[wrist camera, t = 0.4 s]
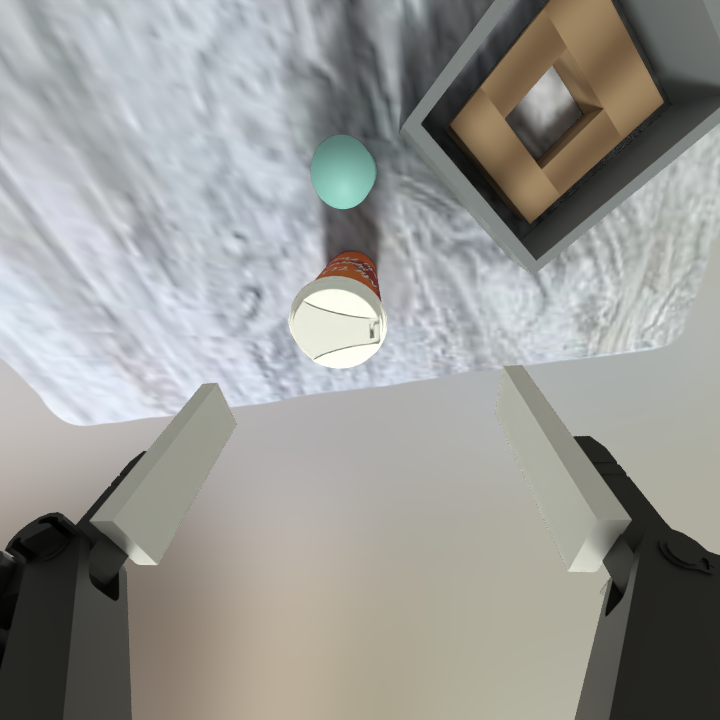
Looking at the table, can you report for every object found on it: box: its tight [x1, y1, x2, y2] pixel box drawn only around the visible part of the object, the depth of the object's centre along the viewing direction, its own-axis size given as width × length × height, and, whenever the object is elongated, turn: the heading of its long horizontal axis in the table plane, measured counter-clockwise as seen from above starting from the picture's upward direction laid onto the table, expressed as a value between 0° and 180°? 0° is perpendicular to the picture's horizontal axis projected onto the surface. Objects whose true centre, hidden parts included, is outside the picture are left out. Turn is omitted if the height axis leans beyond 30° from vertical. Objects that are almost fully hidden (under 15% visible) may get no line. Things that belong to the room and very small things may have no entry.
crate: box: [399, 0, 720, 275], centre depth 25 cm, size 18×18×6 cm
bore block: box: [444, 0, 664, 224], centre depth 26 cm, size 12×12×3 cm
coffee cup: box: [288, 251, 387, 368], centre depth 30 cm, size 8×8×15 cm
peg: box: [311, 135, 377, 209], centre depth 25 cm, size 4×4×14 cm
